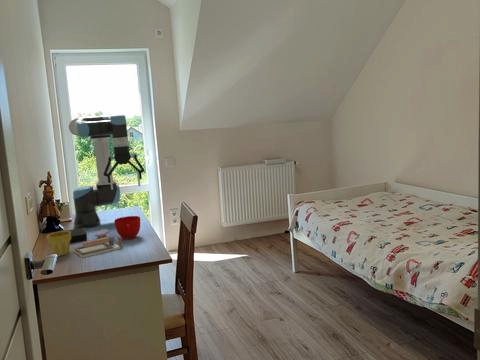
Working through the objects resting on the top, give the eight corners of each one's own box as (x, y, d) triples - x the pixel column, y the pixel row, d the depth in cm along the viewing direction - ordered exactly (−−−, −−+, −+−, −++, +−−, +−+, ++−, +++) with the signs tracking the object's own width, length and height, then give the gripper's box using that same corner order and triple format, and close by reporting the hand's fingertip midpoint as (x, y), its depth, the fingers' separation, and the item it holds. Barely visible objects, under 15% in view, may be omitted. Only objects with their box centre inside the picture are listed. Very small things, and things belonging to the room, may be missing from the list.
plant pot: (49, 259, 203) (46, 238, 201) (49, 253, 212) (46, 233, 211) (73, 254, 207) (71, 234, 205) (72, 249, 216) (69, 229, 215)
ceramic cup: (116, 244, 219) (114, 224, 217) (116, 236, 235) (114, 218, 234) (143, 240, 222) (141, 221, 221) (141, 233, 238) (139, 214, 237)
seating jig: (74, 251, 211) (72, 240, 211) (113, 243, 222) (112, 232, 221) (81, 257, 201) (80, 245, 200) (122, 248, 211) (121, 236, 211)
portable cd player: (53, 239, 241) (52, 232, 240) (86, 234, 247) (85, 227, 246) (52, 247, 225) (50, 239, 225) (87, 241, 231) (86, 233, 231)
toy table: (101, 240, 230) (99, 229, 230) (116, 240, 228) (115, 229, 227) (89, 245, 221) (88, 234, 220) (105, 245, 219) (104, 234, 218)
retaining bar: (113, 239, 217) (112, 235, 216) (115, 240, 214) (115, 236, 214) (82, 246, 209) (82, 242, 208) (84, 247, 206) (84, 243, 206)
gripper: (95, 148, 217) (100, 191, 220) (147, 143, 225) (151, 185, 228) (95, 148, 224) (100, 189, 227) (145, 143, 232) (149, 183, 235)
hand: (125, 187), depth 227 cm, fingers open, 13 cm apart
